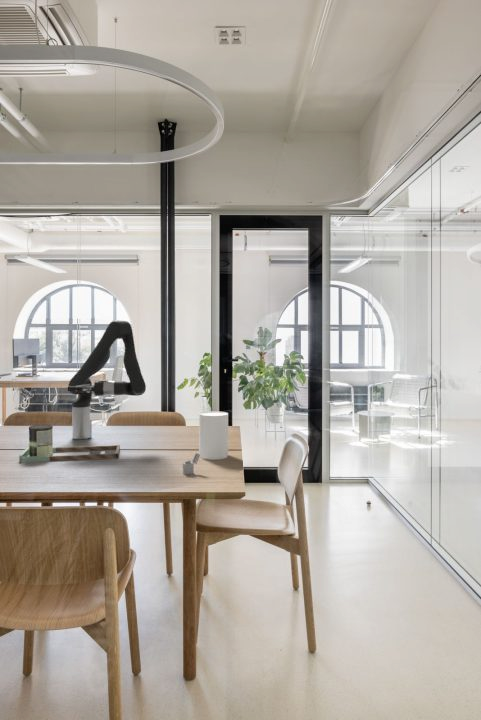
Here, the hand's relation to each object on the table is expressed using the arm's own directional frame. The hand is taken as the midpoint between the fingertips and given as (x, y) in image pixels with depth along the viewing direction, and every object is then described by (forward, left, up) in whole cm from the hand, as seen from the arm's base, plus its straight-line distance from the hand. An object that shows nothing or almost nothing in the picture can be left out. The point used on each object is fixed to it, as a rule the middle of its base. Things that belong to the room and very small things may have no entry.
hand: (67, 388), depth 245 cm
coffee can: (+15, +6, -30) cm, 34 cm away
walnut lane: (+3, +13, -30) cm, 33 cm away
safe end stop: (+16, +5, -30) cm, 35 cm away
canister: (-47, +56, -30) cm, 79 cm away
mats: (-8, +19, -30) cm, 37 cm away
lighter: (-22, +73, -30) cm, 81 cm away
